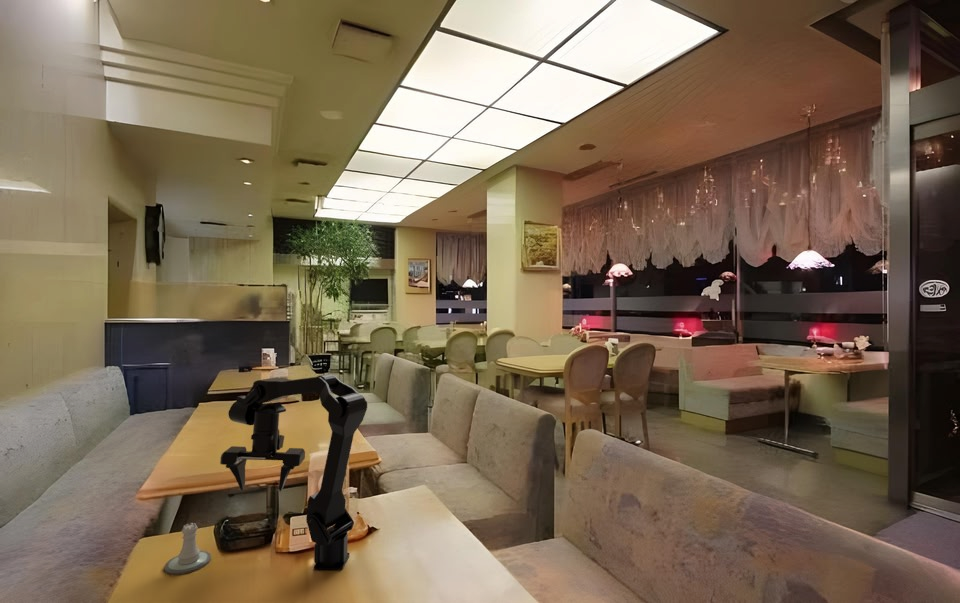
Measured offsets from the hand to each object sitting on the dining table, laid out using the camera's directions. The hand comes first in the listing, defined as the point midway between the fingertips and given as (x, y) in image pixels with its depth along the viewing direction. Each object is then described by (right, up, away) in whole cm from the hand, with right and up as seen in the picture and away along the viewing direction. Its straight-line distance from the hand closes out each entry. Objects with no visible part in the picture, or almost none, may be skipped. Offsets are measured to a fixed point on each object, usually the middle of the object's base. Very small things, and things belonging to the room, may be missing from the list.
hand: (261, 490), depth 115 cm
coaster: (-12, -13, -10) cm, 20 cm away
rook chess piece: (-12, -12, -10) cm, 20 cm away
